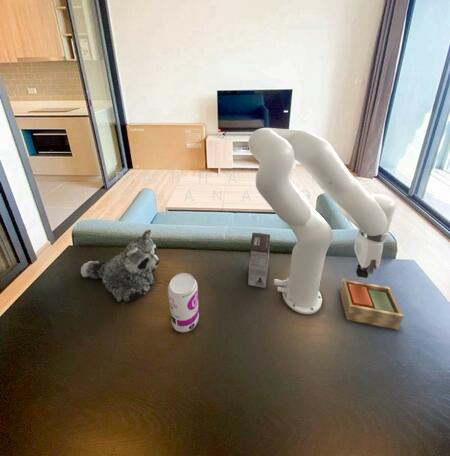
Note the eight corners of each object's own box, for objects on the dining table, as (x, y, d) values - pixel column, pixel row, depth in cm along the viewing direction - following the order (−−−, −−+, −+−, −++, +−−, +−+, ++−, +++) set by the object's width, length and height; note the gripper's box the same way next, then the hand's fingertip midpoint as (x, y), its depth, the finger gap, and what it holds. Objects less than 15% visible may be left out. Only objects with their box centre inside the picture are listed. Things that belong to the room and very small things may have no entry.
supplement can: (203, 313, 76) (202, 277, 70) (189, 338, 69) (186, 300, 63) (181, 303, 79) (178, 267, 74) (165, 326, 72) (161, 289, 67)
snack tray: (346, 319, 74) (350, 306, 72) (339, 291, 83) (342, 279, 81) (398, 329, 71) (403, 316, 69) (385, 299, 81) (389, 287, 79)
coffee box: (250, 265, 94) (252, 231, 88) (267, 268, 93) (270, 233, 87) (247, 285, 85) (249, 249, 80) (266, 288, 84) (269, 251, 78)
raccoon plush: (158, 305, 78) (152, 253, 71) (62, 302, 79) (45, 251, 71) (169, 267, 93) (165, 221, 85) (87, 266, 93) (76, 219, 86)
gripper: (353, 216, 85) (344, 257, 92) (367, 246, 72) (355, 292, 78) (377, 219, 84) (366, 261, 90) (396, 250, 70) (381, 296, 77)
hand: (361, 275), depth 84 cm, fingers closed
